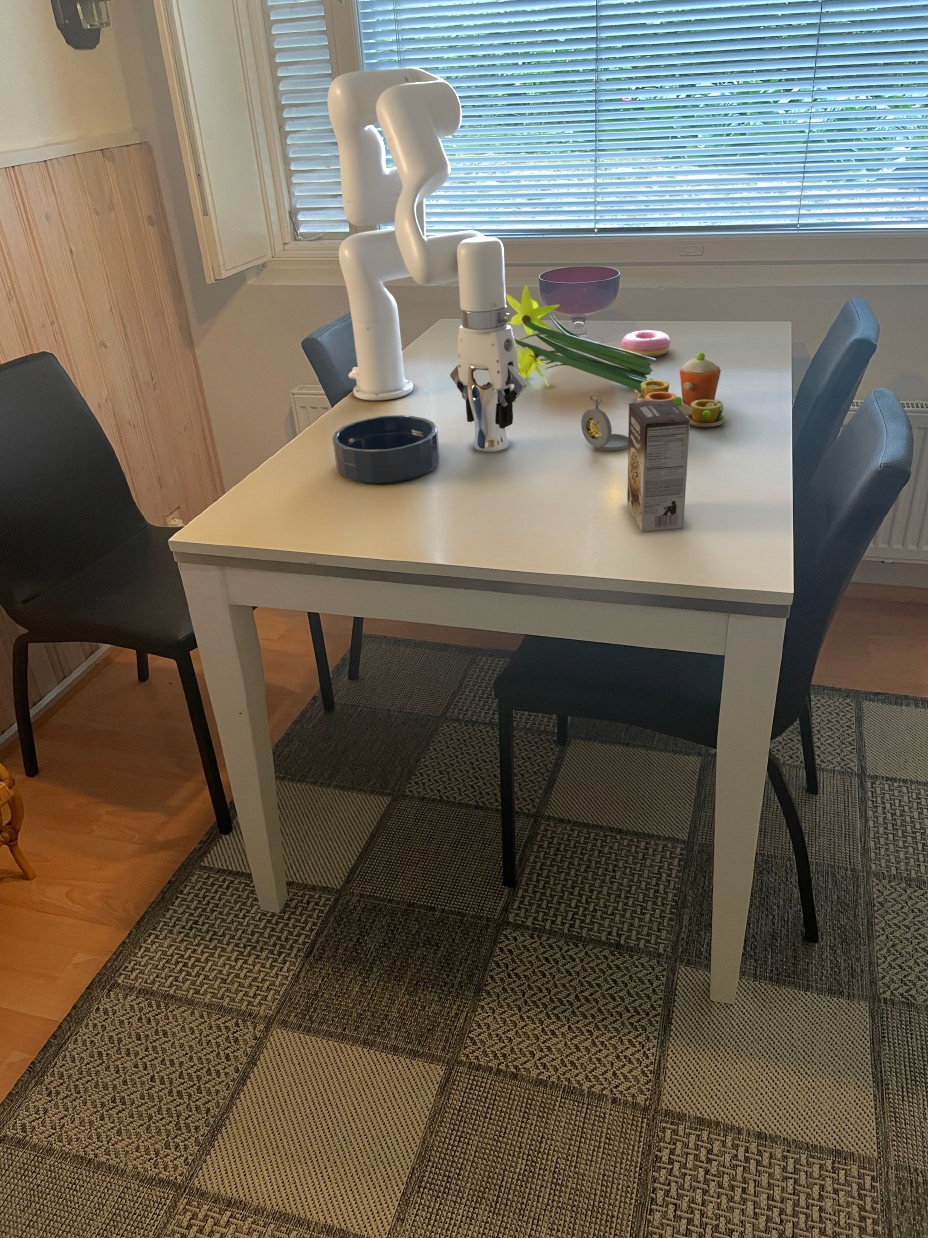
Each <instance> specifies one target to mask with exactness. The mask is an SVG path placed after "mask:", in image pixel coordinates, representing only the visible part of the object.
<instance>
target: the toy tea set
mask: <svg viewBox="0 0 928 1238" xmlns="http://www.w3.org/2000/svg"><path fill="white" fill-rule="evenodd" d="M721 372H722V371H721V367H720V366H719V365H717V364H715V362H714V361H712V360H711V359H708V358H706V355H705V353H704V352H698V353H697V354H696V357H694V358H692V359H690V360H688V361H687V362H686V363H685V364H684V365H682V366H681V367H680V369H679V377H680V388H681V389H680V390H681V397H680V396H678V395H677V394H676V393H674V392H670V391H669V389H670V383H669V382H668V381H666V380H662V379H654V378H651V377H650V378H647V381H644V382H642V383H641V391H640V392H639V390H637V389H634V392H635V394H636V395H637V397H636V402H644V401H664V400H672V401H673V402H674V403H675V404H676V405H677V406H678V407H679V409H680V410H681V411H682V412H683V413H684V414H685V415H686V416H687V418H688V419H689V420H690V425H692V426H694V427H699V428H714V427H717V426H721V425H723V424H724V423H725V421H726V417H725V416H724V415H723V412H724V406H723V402H722V401H721V400H715V398H716V394H717V390H718V385H719V381H720V376H721Z"/></svg>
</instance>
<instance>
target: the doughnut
mask: <svg viewBox="0 0 928 1238" xmlns="http://www.w3.org/2000/svg"><path fill="white" fill-rule="evenodd" d="M671 344H672V341H671V339H670V336H669V335H668V334H667V333H665V332H663V331H658V330H655V329H653V330H647V329H646V330H637V331H633V332H630V333H628V334H626V335H625V336H624V337H623V338H622V339H621V343H620V345H621V349H623V350H627V351H630V352H634V353H637V354H640V355H644V356H647V357H650V358H655V357H659V356H663V355H664V354H665V353H667V352H668V351H669V350H670V347H671ZM625 354H627V355H630V356H633V357H636V358H639V357H638V356H635V355H632V354H629V353H625Z"/></svg>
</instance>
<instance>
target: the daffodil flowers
mask: <svg viewBox="0 0 928 1238" xmlns="http://www.w3.org/2000/svg"><path fill="white" fill-rule="evenodd" d="M529 289H530V288H529V287H528V284H525V285H524V287H523V290H522V293H521V296H520V301H518V300H517V299H516V298H514V297H513V296H511V295H510V294H509V293H507V292H505V293H506V302H508V303H509V305H510V307H512V309H513V310H514V311H516V312H517V313H515V314H514V315H513V316H511V321H510V322H507V324H511V326H520V325H523V328H524V331H525V332H526V335H527V336H525V337H523V338H520V339H516V338H514V339H515V344H517V345H518V346H519V347H522V348H523V349H521V348H519V347H518V346H516V350H517V355H518V356H517V358H518V369H519V375H520V376H521V377H523V378H525V379H526V380H527V379H528V378H529V377H530V376H531V375H532V374H533V372H534V371H536V373H537V374H538V375H539V376H540V377H541V378H542V379H543V380H544V382H545V384H546V386H547V387H548V388H550V386H549V384H548V382H547V379H546V378H545V375H544V374H543V372H542V370H541V368H540V366H546V368H544V369H543V371H544V370H548V369H550V368H554V367H560V366H566V367H572V368H574V369H577V370H580V371H582V372H585V373H587V374H590V375H593V376H596V377H599V378H603V379H605V380H609V381H611V382H614V383H617V384H620V385H622V386H626V387H628V388H631V389H633V390H635V389H636V390H637V391H640V392H641V383H642V382H644V381H647V380H648V376H650V375H651V373H652V372H654V369H653V367H651V365H652V363H651V361H652V362H656V361H657V359H656V358H655V357H647V356H644V355H640V354H637V353H634V352H630V351H627V350H623V349H622V348H619V347H615V346H612V345H608V344H604V343H600V342H596V341H594V340H593V341H592V340H589V339H586V338H584V337H581V336H580V335H578V334H577V333H575V332H573V331H571V330H570V329H568V328H566V327H565V326H564V325H562V323H560V321H558V319H557V318H556V316H555V315H554V314H553V313H552V311H554V310H555V309H557V308H558V307H560V306H561V304H560V303H556V304H552V305H544V306H539V304H538V301H537V300H535V299H532V296H531V293H530V292H531V291H530V290H529ZM550 313H551V315H552V316H551V315H550ZM545 315H548V316H549V318H550V320H551V321H552V323H553V324H554V325H555V326H556V328H557V330H559V331H557V330H554V329H553V328H551V327H550V326H549V325H548V324H547V323H546V322H544V321H543V320H542V319H541V318H542V317H544V316H545ZM534 331H535V332H537V333H533V332H534ZM532 337H537V338H538V339H539V340H541V342H543V343H544V344H546V345H547V346H549V347H550V348H552V349H553V350H548V349H545V348H542V347H539V346H536V345H533V344H530V343H527V342H525V341H522V340H525V339H529V338H532ZM626 353H629V354H632V355H635V356H638V357H634V356H630V355H628V354H626ZM540 357H542V358H540ZM538 358H540V359H538ZM544 362H546V363H544ZM553 363H556V364H553ZM549 364H553V365H551V366H548V365H549Z"/></svg>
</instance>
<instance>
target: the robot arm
mask: <svg viewBox="0 0 928 1238" xmlns="http://www.w3.org/2000/svg"><path fill="white" fill-rule="evenodd" d="M326 100H327V112H328V116H329V117H328V118H329V121H330V124H331V127H332V130H333V133H334V137H335V139H336V143H337V144H336V145H337V147H338V158H339V172H340V174H339V175H340V185H341V187H340V188H341V196H342V197H341V198H342V199H341V200H342V206H343V212H344V216H345V218H346V220H347V222H349V223H350V224H351V225H353V226H356V227H371V226H378V225H384V224H390V223H391V224H392V223H394V227H390V228H384V229H375V230H369V231H363V232H359V233H355V234H351V235H349V236H348V237H346V238H345V239H344V240H342V242H341V243H340V246H339V248H338V262H339V266H340V271H341V272H342V276H343V280H344V283H345V287H346V291H347V297H348V301H349V310H350V317H351V323H352V324H351V325H352V331H353V339H354V348H355V356H356V364H357V366H353V367H352V369H351V371H349V373H348V375H347V376H348V378H349V379H351V380H355V381H356V385H355V386H354V387H353V389H352V391H353V396H354V397H356V398H357V399H359V400H363V401H387V400H393V399H398V398H401V397H405V396H406V395H409V394H410V393H411V392H412V391H413V390H414V384H413V382H412V381H411V380H409V379H406V378H405V377H406V376H405V367H404V357H403V348H402V338H401V337H402V336H401V328H400V327H401V326H400V319H399V318H400V317H399V310H398V309H399V308H398V304H397V301H396V298H395V297H394V296H393V295H392V293H391V292H390V291H389V290H388V288H386V286H385V285H384V283H386V282H390V281H394V280H399V279H406V278H409V277H411V278H412V279H413V280H414V281H415V282H416V283H417V284H418V285H420V286H423V287H432V286H437V285H443V284H447V283H453V282H458V290H459V291H458V292H459V305H460V306H459V307H460V318H461V325H460V326H459V328H458V329H459V330H458V337H457V365H456V366H455V367H454V369H453V370H452V371H451V372H450V373H449V376H450V377H449V378H450V379H451V380H452V381H453V382H454V384H456V388H457V389H458V390H459V392H460V393H461V399H463V400H465V412H466V421H467V423H473V422H474V419H473V415H472V411H471V407H470V402H469V397H468V389H467V364H469V365H471V366H474V367H488V369H489V374H490V377H491V381H492V384H493V388H494V389H496V390H498V398H499V401H500V403H501V405H500V406H498V417H499V427H500V428H502V429H504V428H505V429H506V428H507V427H509V426H512V425H513V422H514V406H513V403H515V402H516V400H517V398H519V397H520V395H521V394H522V393H523V392H524V390H525V389H526V388H527V387H528V384H527V382H526V381H525V379H524V377H523V376H522V375H520V374H519V369H518V366H519V364H518V358H517V357H518V354H517V350H516V347H517V345H516V344H517V343H515V339H516V338H515V335H514V332H513V331H514V330H513V328H512V325H508V322H510V321H511V317H512V315H511V313H507V312H508V311H507V299H506V293H507V292H506V274H505V273H506V271H505V250H504V245H503V242H502V241H501V240H500V239H499V238H497V237H493V236H485V235H483V234H482V233H481V232H479V231H476V230H462V231H457V232H450V233H444V234H437V235H431V236H430V235H429V236H427V233H426V232H427V225H426V223H427V222H426V199H427V198H428V197H429V196H431V195H433V194H434V193H436V192H437V191H438V190H440V188H441V187H443V185H444V184H445V183H446V182H447V181H448V179H449V177H450V175H451V164H450V162H449V159H448V158H447V157H448V156H447V154H446V152H445V150H444V147H443V143H442V141H441V138H443V137H450V136H452V135H455V134H456V133H457V132H458V130H459V129H460V128H461V127H460V126H461V123H462V117H463V116H462V115H463V113H462V112H463V111H462V106H461V105H462V104H461V102H460V99H459V96H458V94H457V92H456V91H455V89H454V88H453V86H452V85H451V84H450V83H449V82H447V81H446V80H445V79H443V78H441V77H438V76H437V75H434V74H432V73H430V72H428V71H425V70H424V69H420V68H418V67H397V68H386V69H385V68H384V69H368V70H357V71H352V72H347V73H343V74H340V75H338V76H336V77H335V78H334V79H333V80H332V82H331V83H330V86H329V88H328V91H327V99H326ZM375 126H380V130H381V132H382V134H383V138H384V140H385V142H386V144H387V148H388V150H389V152H390V155H391V159H392V160H393V163H394V166H395V167H388V168H387V167H386V166H387V165H386V147H385V144H384V140H383V138H382V136H381V135H380V133H379V131H378V130H377V129H376V127H375ZM512 385H513V388H512ZM504 389H506V393H507V396H505V393H504Z"/></svg>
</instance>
